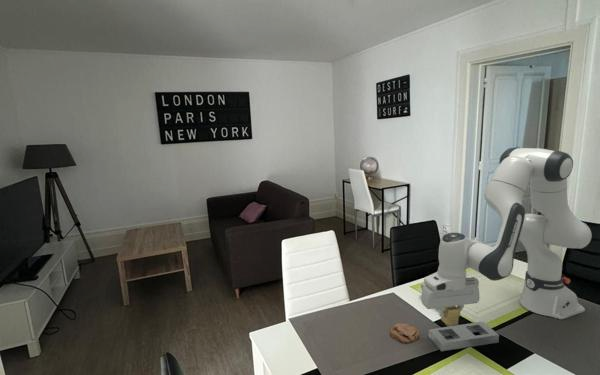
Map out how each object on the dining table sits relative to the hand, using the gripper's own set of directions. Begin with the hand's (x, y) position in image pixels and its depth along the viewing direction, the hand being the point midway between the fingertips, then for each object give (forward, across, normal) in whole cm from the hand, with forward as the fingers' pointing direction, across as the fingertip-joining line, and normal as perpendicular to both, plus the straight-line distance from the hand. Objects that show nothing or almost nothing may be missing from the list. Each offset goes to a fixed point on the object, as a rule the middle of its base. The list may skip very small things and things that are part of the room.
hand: (449, 316), depth 111 cm
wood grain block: (+2, 0, 0) cm, 2 cm away
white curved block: (+10, -10, -24) cm, 28 cm away
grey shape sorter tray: (+10, -6, 0) cm, 12 cm away
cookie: (+11, +13, -7) cm, 19 cm away
